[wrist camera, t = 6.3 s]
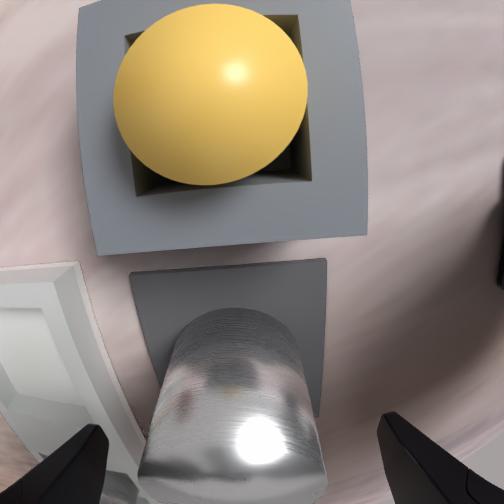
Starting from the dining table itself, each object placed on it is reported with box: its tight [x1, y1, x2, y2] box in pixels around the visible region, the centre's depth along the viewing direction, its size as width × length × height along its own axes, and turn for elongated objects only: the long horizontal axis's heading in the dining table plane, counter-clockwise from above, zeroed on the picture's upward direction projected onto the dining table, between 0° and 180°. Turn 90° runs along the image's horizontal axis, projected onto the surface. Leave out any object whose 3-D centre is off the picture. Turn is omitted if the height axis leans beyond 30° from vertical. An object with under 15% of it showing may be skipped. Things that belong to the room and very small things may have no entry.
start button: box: [113, 4, 308, 185], centre depth 6 cm, size 3×3×4 cm
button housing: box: [76, 0, 368, 256], centre depth 7 cm, size 6×6×4 cm
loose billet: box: [137, 308, 328, 504], centre depth 9 cm, size 5×5×6 cm
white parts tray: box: [0, 261, 160, 504], centre depth 13 cm, size 9×19×2 cm, turn 4°
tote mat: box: [129, 258, 327, 417], centre depth 12 cm, size 7×8×1 cm
